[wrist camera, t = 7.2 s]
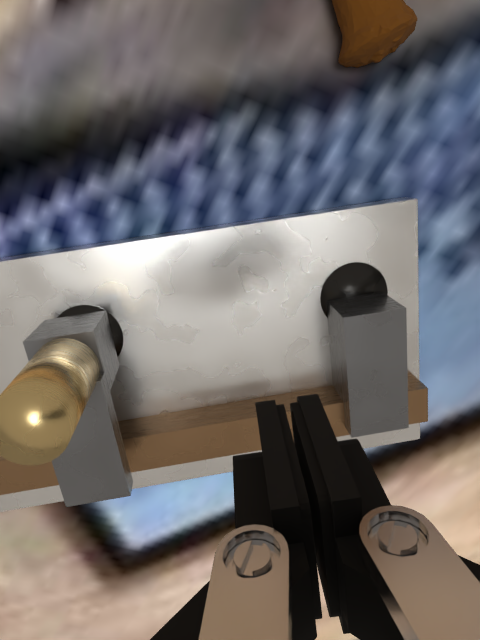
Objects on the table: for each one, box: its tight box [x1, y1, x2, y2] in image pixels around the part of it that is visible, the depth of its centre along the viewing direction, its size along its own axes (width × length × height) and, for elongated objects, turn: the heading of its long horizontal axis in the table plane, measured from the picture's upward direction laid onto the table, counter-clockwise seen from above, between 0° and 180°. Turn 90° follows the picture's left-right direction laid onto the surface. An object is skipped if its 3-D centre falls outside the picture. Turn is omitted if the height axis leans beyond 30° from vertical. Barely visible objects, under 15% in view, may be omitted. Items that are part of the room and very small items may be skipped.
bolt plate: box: [0, 197, 428, 512], centre depth 24 cm, size 25×14×4 cm, turn 98°
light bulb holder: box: [0, 310, 133, 507], centre depth 20 cm, size 3×8×8 cm, turn 8°
